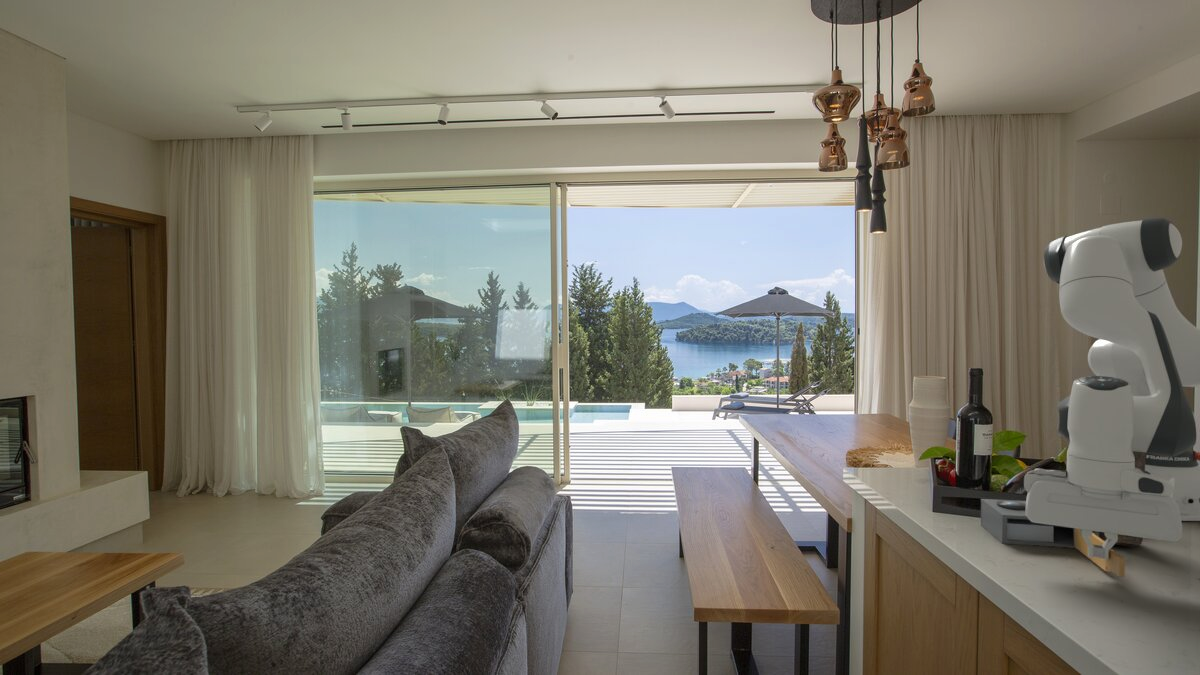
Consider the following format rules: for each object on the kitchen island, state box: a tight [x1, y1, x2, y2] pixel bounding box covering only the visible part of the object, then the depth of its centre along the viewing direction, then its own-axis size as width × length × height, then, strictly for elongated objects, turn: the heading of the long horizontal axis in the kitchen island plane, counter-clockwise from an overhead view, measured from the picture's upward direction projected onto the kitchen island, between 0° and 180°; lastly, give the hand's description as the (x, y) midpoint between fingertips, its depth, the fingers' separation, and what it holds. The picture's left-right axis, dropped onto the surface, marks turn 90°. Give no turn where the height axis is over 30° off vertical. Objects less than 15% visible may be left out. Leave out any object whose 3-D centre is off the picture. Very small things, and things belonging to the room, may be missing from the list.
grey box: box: [980, 498, 1099, 549], centre depth 122 cm, size 16×11×6 cm
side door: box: [1073, 528, 1126, 578], centre depth 107 cm, size 17×1×5 cm, turn 163°
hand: (1098, 557), depth 103 cm, fingers closed
